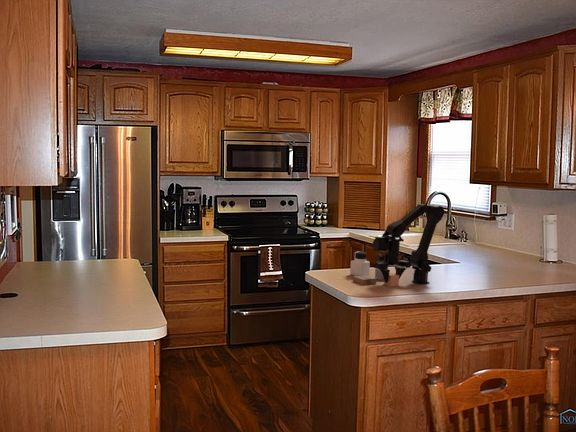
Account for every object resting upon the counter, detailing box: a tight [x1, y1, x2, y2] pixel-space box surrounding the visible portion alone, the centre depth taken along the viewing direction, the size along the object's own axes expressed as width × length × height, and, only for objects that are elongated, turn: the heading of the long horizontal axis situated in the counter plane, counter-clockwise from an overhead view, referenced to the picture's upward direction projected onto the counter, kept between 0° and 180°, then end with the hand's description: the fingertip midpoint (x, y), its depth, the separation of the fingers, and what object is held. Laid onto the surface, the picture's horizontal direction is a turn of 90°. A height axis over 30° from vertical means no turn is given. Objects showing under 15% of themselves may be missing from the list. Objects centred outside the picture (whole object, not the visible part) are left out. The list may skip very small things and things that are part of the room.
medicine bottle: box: [349, 251, 371, 276], centre depth 314 cm, size 7×7×12 cm
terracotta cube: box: [383, 272, 400, 287], centre depth 294 cm, size 5×5×5 cm
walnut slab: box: [352, 275, 378, 286], centre depth 296 cm, size 8×8×3 cm
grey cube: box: [374, 268, 384, 281], centre depth 306 cm, size 5×5×5 cm
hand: (391, 282), depth 294 cm, fingers open, 6 cm apart
